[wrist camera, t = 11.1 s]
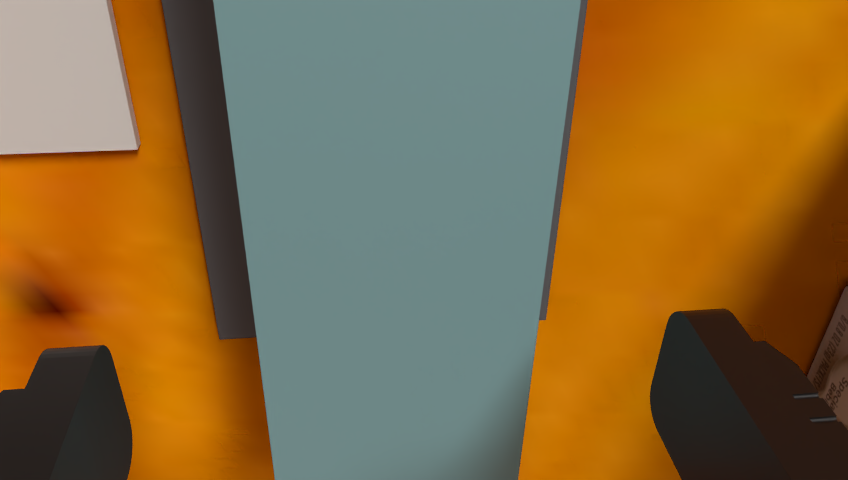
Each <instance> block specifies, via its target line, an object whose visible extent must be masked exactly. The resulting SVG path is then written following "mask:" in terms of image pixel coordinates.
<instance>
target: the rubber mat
mask: <svg viewBox="0 0 848 480" xmlns="http://www.w3.org/2000/svg"><path fill="white" fill-rule="evenodd" d="M587 1H588V0H581V3H580V11H579V18H578V26H577V33H576V41H575V49H574V56H573V64H572V72H571V79H570V87H569V94H568V102H567V110H566V117H565V125H564V132H563V140H562V148H561V155H560V163H559V170H558V178H557V186H556V193H555V201H554V208H553V216H552V224H551V231H550V239H549V246H548V254H547V262H546V269H545V277H544V284H543V292H542V300H541V307H540V315H539V320H546V314H547V306H548V299H549V291H550V283H551V276H552V268H553V260H554V253H555V245H556V237H557V230H558V222H559V215H560V207H561V199H562V192H563V184H564V176H565V169H566V161H567V154H568V146H569V138H570V131H571V123H572V115H573V108H574V100H575V93H576V85H577V77H578V70H579V62H580V54H581V47H582V39H583V32H584V24H585V16H586V9H587ZM162 5H163V11H164V17H165V23H166V29H167V35H168V40H169V46H170V52H171V58H172V64H173V70H174V76H175V81H176V87H177V93H178V99H179V105H180V111H181V117H182V122H183V128H184V134H185V140H186V146H187V152H188V157H189V163H190V169H191V175H192V181H193V187H194V193H195V198H196V204H197V210H198V216H199V222H200V228H201V234H202V239H203V245H204V251H205V257H206V263H207V269H208V275H209V280H210V286H211V292H212V298H213V304H214V310H215V315H216V321H217V327H218V333H219V339H236V338H252V337H257V336H256V329H255V321H254V313H253V305H252V298H251V290H250V282H249V274H248V267H247V259H246V251H245V243H244V236H243V228H242V220H241V212H240V204H239V197H238V189H237V181H236V173H235V166H234V158H233V150H232V142H231V135H230V127H229V119H228V111H227V104H226V96H225V88H224V80H223V73H222V65H221V57H220V49H219V41H218V34H217V26H216V18H215V10H214V3H213V0H162Z"/></svg>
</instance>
